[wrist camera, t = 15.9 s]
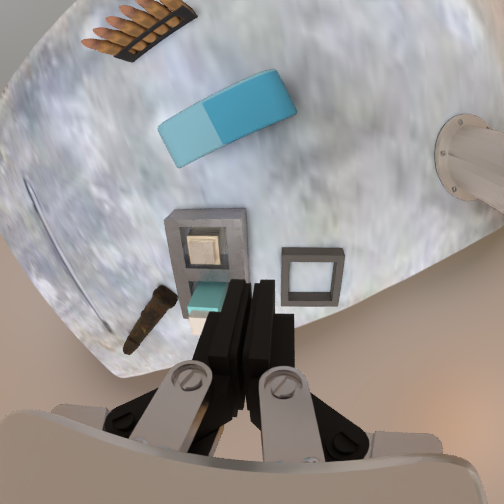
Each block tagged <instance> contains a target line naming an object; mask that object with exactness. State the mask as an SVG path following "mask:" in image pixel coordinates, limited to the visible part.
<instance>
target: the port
mask: <svg viewBox="0 0 504 504" xmlns="http://www.w3.org/2000/svg"><path fill="white" fill-rule="evenodd" d="M164 224H165V230H166V236H167V242H168V247H169V253H170V258H171V263H172V268H173V273H174V278H175V283H176V288H177V292H178V297H179V301H180V306H181V310H182V315H183V318H185V319H189V318H188V317H189V312H188V308H187V306H188V304H189V302H190V300H191V297H192V295H193V293H194V291H195V289H196V287H197V284H198V281H207V282H230V280H231V279H245V280H246V283H250V281H249V263H248V244H247V226H246V208H221V209H183V210H174V211H173V212H172V213H171V214H170V215H169V216H168V217H167V218H166V219H165V220H164ZM190 227H193V228H192V229H191V230H190ZM225 227H226V235H225ZM226 238H227V247H226ZM226 249H228V255H224V254H225V252H226Z"/></svg>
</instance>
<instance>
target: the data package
mask: <svg viewBox="0 0 504 504" xmlns="http://www.w3.org/2000/svg"><path fill="white" fill-rule="evenodd" d="M296 113H297V110H296V108H295V106H294V104H293V102H292V100H291V98H290V96H289V94H288V92H287V90H286V88H285V86H284V84H283V82H282V80H281V78H280V76H279V74H278V72H277V70H275V69H269V70H266V71H262V72H260V73H257V74H255V75H253V76H250V77H248V78H246V79H244V80H241V81H239V82H237V83H235V84H233V85H231V86H229V87H227V88H225V89H223V90H221V91H219V92H217V93H215V94H213V95H211V96H209V97H207V98H205V99H203V100H201V101H199V102H197V103H196V104H194V105H192V106H190V107H188V108H187V109H185V110H183V111H181V112H180V113H178V114H176V115H174V116H173V117H171V118H169V119H168V120H166V121H165V122H163V123H162V124H160V125H159V126H158V132H159V134H160V136H161V138H162V140H163V142H164V144H165V145H166V147H167V149H168V151H169V153H170V155H171V157H172V159H173V161H174V163H175V165H176V166H177V168H182V167H183V166H185V165H187V164H189V163H191V162H193V161H195V160H197V159H199V158H201V157H203V156H205V155H207V154H209V153H211V152H213V151H215V150H217V149H219V148H221V147H223V146H225V145H227V144H229V143H231V142H233V141H235V140H238V139H240V138H242V137H244V136H246V135H249V134H251V133H253V132H255V131H258V130H260V129H262V128H264V127H267V126H269V125H271V124H274V123H276V122H279V121H281V120H283V119H286V118H288V117H291V116H293V115H295V114H296Z"/></svg>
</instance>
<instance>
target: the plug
mask: <svg viewBox="0 0 504 504" xmlns="http://www.w3.org/2000/svg"><path fill="white" fill-rule="evenodd" d="M229 283H230V282H207V281H199V282H198V284H197V287H196V289H195V291H194V293H193V295H192V297H191V300H190V302H189V304H188V306H187V308H188V312H189V317H188V318H189V322H190V326H191V330H192V335H201V333H202V330H203V327H204V324H205V321H206V318H207V316H208V313H209V312H210V311H217V312H221V310H222V306H223V303H224V300H225V296H226V293H227V290H228V287H229Z"/></svg>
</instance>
